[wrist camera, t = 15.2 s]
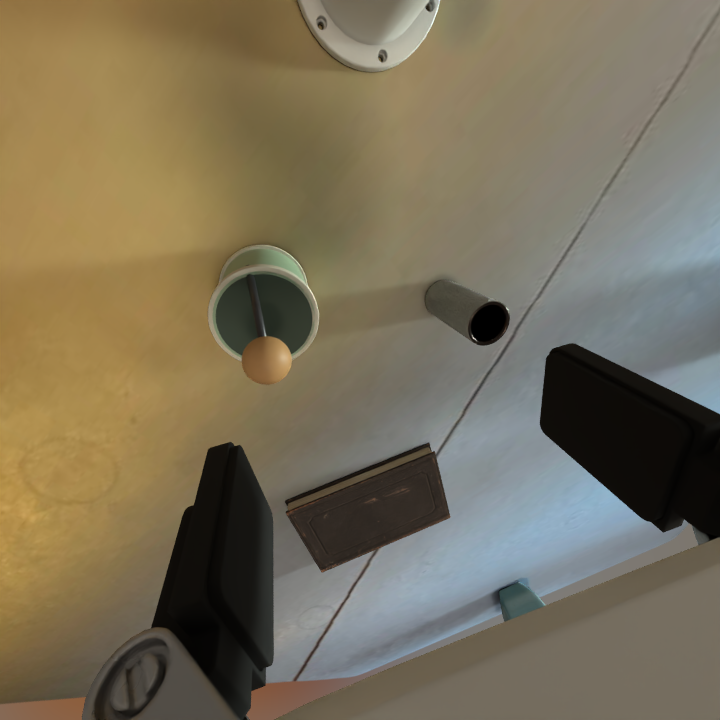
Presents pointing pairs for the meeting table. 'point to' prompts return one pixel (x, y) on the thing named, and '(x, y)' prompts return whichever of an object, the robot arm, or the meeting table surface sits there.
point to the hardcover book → (370, 508)
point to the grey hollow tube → (468, 312)
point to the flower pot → (518, 601)
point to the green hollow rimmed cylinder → (263, 311)
